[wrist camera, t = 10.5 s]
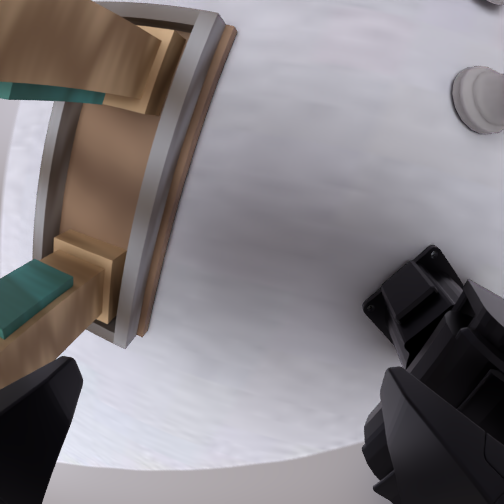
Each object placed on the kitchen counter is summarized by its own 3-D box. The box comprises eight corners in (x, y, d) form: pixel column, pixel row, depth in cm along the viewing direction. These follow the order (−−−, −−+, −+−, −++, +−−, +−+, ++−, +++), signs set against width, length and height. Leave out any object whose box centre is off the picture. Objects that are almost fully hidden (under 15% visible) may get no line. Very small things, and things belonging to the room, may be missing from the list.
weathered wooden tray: (106, 13, 16) (-46, -45, 3) (237, 31, 16) (132, -112, 3) (49, 281, 24) (-66, 368, 11) (147, 330, 24) (49, 467, 11)
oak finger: (120, 310, 23) (12, 431, 10) (68, 287, 23) (-47, 381, 11) (126, 250, 21) (-15, 360, 9) (70, 229, 21) (-72, 308, 9)
